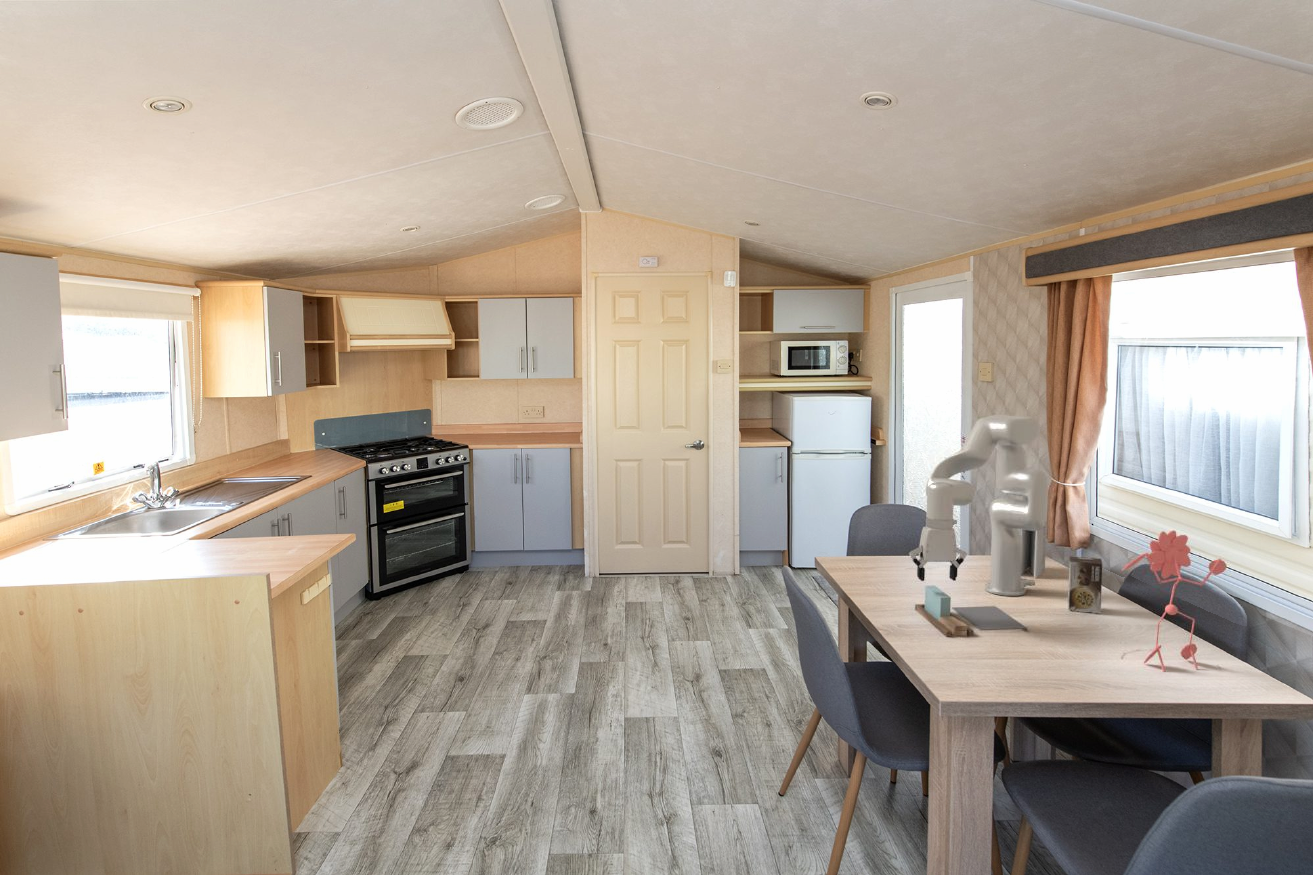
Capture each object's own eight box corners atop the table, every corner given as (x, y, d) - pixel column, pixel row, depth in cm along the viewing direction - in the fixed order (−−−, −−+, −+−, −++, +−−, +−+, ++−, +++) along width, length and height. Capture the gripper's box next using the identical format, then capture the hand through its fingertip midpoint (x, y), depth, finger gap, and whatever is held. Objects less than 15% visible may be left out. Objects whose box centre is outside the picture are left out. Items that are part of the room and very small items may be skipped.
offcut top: (952, 621, 242) (952, 616, 242) (967, 630, 234) (967, 625, 234) (939, 621, 241) (939, 617, 241) (954, 631, 233) (954, 626, 233)
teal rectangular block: (933, 613, 256) (934, 585, 255) (949, 626, 244) (950, 597, 243) (924, 613, 256) (925, 585, 255) (939, 627, 244) (940, 597, 243)
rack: (939, 611, 257) (939, 603, 257) (973, 638, 234) (973, 630, 233) (915, 612, 257) (915, 604, 257) (946, 639, 233) (946, 631, 233)
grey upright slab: (1035, 578, 291) (1039, 495, 288) (1019, 576, 294) (1022, 493, 291) (1044, 569, 302) (1048, 489, 299) (1028, 567, 306) (1032, 487, 302)
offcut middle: (953, 626, 242) (953, 621, 242) (966, 635, 234) (966, 630, 234) (940, 626, 241) (940, 621, 241) (953, 636, 234) (953, 631, 233)
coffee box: (1099, 608, 258) (1102, 558, 257) (1100, 614, 253) (1103, 563, 251) (1067, 604, 262) (1069, 555, 260) (1067, 611, 256) (1070, 560, 255)
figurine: (1230, 668, 210) (1237, 534, 207) (1136, 674, 208) (1141, 538, 204) (1185, 648, 226) (1191, 522, 222) (1097, 653, 223) (1101, 526, 219)
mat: (995, 609, 259) (995, 606, 259) (1027, 631, 239) (1027, 628, 239) (951, 610, 258) (951, 607, 258) (980, 632, 238) (980, 629, 238)
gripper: (962, 521, 250) (959, 576, 252) (906, 521, 249) (904, 576, 251) (973, 526, 243) (970, 582, 245) (915, 526, 242) (913, 583, 244)
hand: (936, 579), depth 248 cm, fingers open, 9 cm apart
